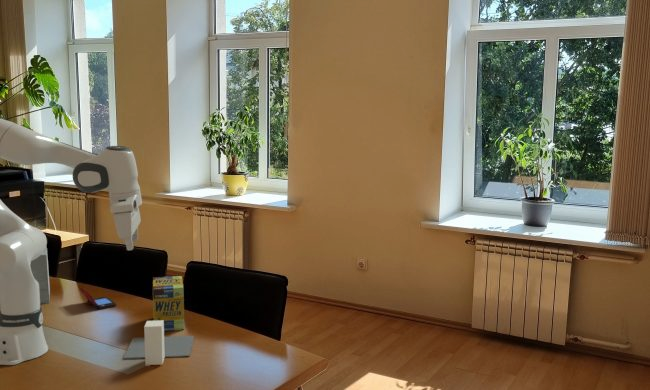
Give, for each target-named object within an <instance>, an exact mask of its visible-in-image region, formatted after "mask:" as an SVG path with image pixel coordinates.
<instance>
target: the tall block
mask: <svg viewBox="0 0 650 390" xmlns="http://www.w3.org/2000/svg"><path fill="white" fill-rule="evenodd" d="M143 328H144V329H143V330H144V332H143V333H144V338H145V359H144V362H145V364H144V365H145V367H151V366H150V365H160V366H164V365H163V364H164V362H165V359H166V358H165V350H164V337H165V331H164V320H158V321H154V320H146V322H145V324H144V326H143ZM164 358H165V359H164Z"/></svg>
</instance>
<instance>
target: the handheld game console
mask: <svg viewBox="0 0 650 390" xmlns="http://www.w3.org/2000/svg"><path fill="white" fill-rule="evenodd" d="M78 289H79V291H80V292H81V293H82V295H83V296H85V298H86V299H87V301H86V302H87V303H88V304H90V305H91V306H93V307H94V308H95V309H96V310H97V311H100V310H101V311H102V310H105V309H106V310H107V309H110V308H116V306H117V303H116V302H114V301H113V300H112V299H111V298H109V297H107V296H101V297H97V298H93V297H92V296H91V294H90V293H89V292H87V291H86V290H85V289H83V288H82V287H81V286H78Z"/></svg>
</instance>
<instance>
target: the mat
mask: <svg viewBox="0 0 650 390" xmlns="http://www.w3.org/2000/svg"><path fill="white" fill-rule="evenodd" d="M194 338H195V335H184V336H183V335H182V336H181V335H179V336H177V335H176V336H164V350H165V357H171V358H181V357H180V356H190V355H191V352H192V348H191V347H193V343H194ZM190 357H191V356H190ZM142 358H145V337H132V339H131V340H130V343H129V345H128V348H127V349H126V351H125V353H124V356H123V360H139V359H142Z"/></svg>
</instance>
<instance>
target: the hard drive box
mask: <svg viewBox="0 0 650 390" xmlns="http://www.w3.org/2000/svg"><path fill="white" fill-rule="evenodd" d="M30 267H31V271H32V274H33V277H34V279H35V280H36V281H37V282H38V283H39V293H40V305H43V304H49V303H50V298H51V297H50V295H51V293H50V292H51V289H50V275H49V274H50V273H49V260H48V248H47V245H46V248H45V250H44V251H43V252H42V254H41V255H40V256H39V257H38V258H36V259H35V260H33V261H31V264H30Z"/></svg>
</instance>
